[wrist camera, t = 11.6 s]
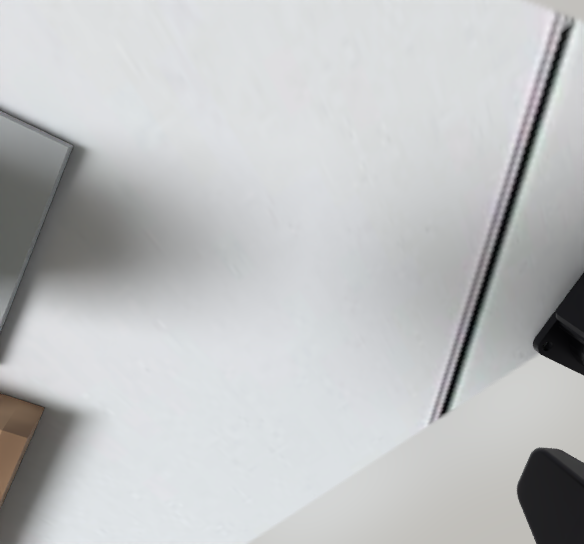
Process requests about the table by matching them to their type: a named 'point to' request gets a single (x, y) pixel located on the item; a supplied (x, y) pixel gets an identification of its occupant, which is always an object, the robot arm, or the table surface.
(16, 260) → the slate pad
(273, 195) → the table surface
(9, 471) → the walnut collar
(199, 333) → the table surface
